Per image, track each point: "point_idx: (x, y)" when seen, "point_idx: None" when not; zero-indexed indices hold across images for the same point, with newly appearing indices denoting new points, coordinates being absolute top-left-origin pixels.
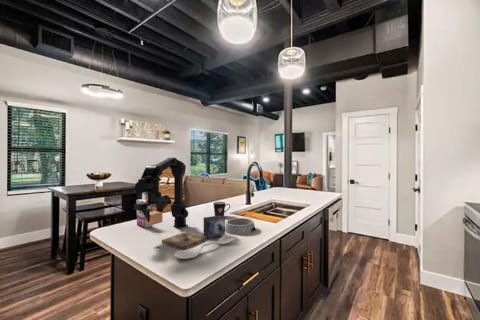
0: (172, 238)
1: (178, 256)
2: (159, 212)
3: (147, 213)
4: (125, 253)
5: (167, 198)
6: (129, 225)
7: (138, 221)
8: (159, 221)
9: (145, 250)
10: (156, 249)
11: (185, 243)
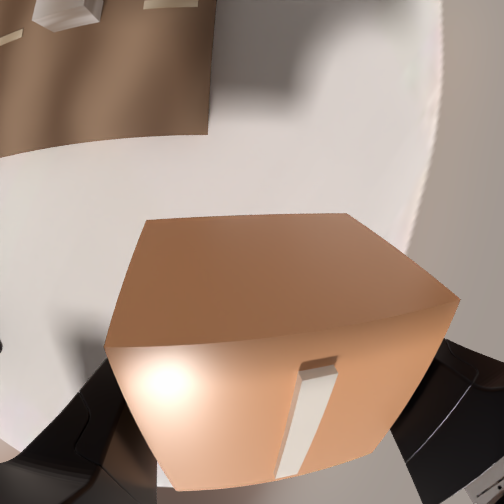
0: (124, 90)
1: None
2: (177, 398)
3: (490, 363)
4: (421, 193)
5: None
6: None
7: None
8: (211, 226)
9: (358, 123)
10: (313, 67)
11: None
